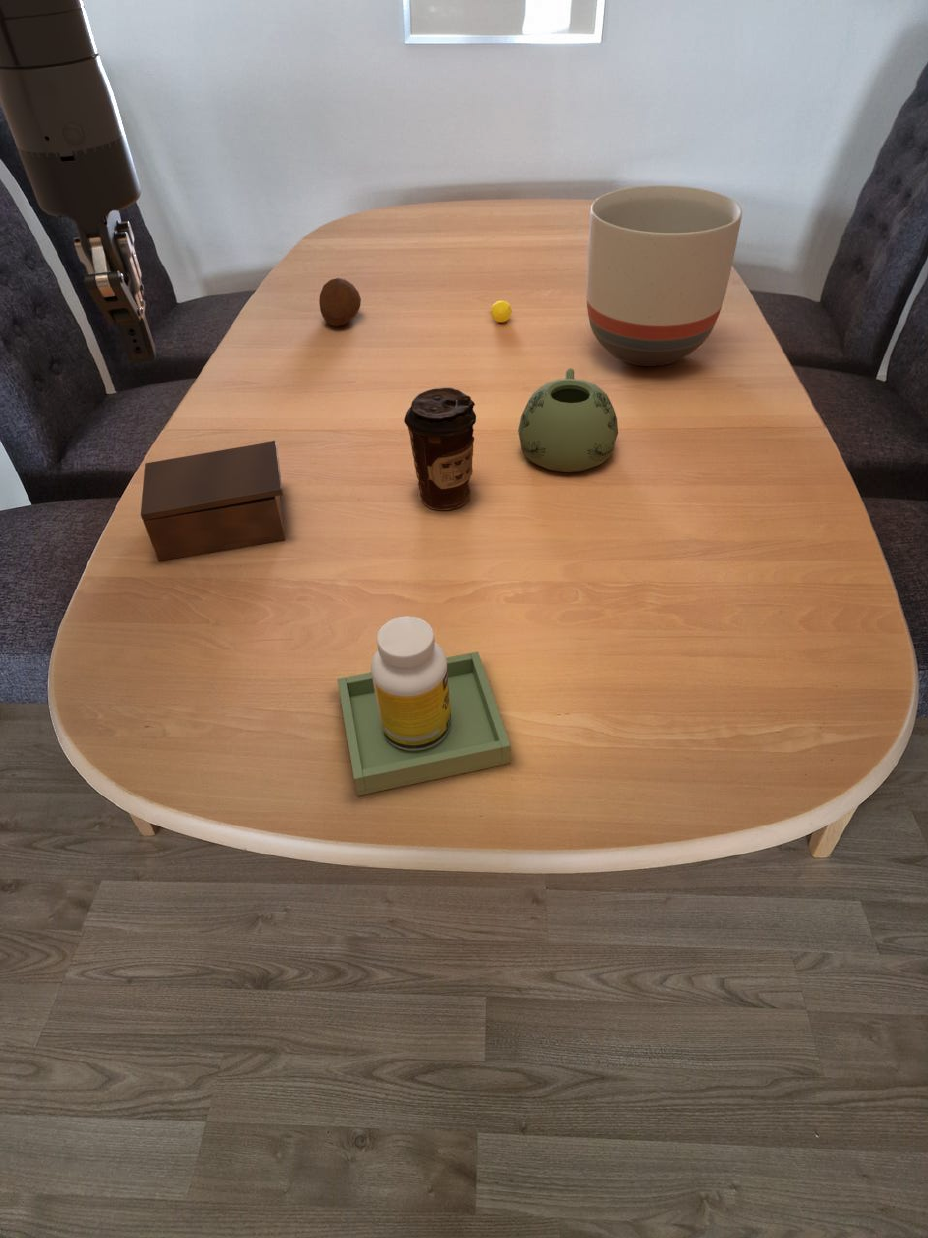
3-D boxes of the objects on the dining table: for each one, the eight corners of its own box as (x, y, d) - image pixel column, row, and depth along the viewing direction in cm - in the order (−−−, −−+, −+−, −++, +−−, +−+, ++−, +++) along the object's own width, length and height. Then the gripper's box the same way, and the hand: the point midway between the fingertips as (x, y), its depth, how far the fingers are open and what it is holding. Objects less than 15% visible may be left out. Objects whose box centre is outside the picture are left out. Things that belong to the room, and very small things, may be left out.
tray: (357, 796, 69) (353, 778, 67) (341, 696, 77) (337, 678, 75) (510, 763, 71) (510, 745, 69) (478, 669, 79) (478, 651, 77)
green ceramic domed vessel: (617, 480, 101) (624, 419, 95) (515, 477, 103) (515, 416, 97) (613, 415, 113) (619, 356, 107) (521, 413, 114) (522, 355, 108)
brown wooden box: (279, 490, 103) (270, 450, 98) (285, 540, 95) (275, 499, 91) (161, 508, 100) (147, 469, 96) (158, 561, 93) (142, 521, 89)
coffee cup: (495, 494, 100) (494, 399, 91) (448, 526, 96) (443, 429, 87) (444, 469, 105) (439, 376, 96) (398, 498, 100) (387, 403, 91)
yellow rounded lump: (495, 327, 134) (488, 305, 133) (493, 322, 140) (487, 301, 138) (515, 319, 134) (508, 298, 132) (512, 314, 139) (505, 294, 138)
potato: (362, 305, 143) (357, 264, 138) (364, 330, 135) (358, 288, 131) (322, 308, 142) (316, 267, 138) (322, 333, 135) (315, 292, 130)
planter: (696, 324, 133) (720, 181, 118) (729, 384, 118) (761, 230, 103) (572, 330, 133) (581, 188, 118) (590, 390, 118) (602, 237, 103)
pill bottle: (450, 754, 71) (443, 664, 63) (377, 754, 71) (361, 665, 63) (452, 697, 76) (446, 607, 68) (384, 698, 76) (369, 609, 68)
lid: (277, 446, 98) (275, 440, 98) (283, 495, 91) (281, 488, 90) (147, 469, 96) (145, 462, 96) (142, 520, 89) (140, 514, 88)
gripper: (29, 117, 63) (105, 332, 75) (-1, 163, 53) (92, 401, 65) (129, 108, 64) (188, 321, 76) (116, 151, 54) (186, 387, 66)
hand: (143, 358), depth 70 cm, fingers closed
